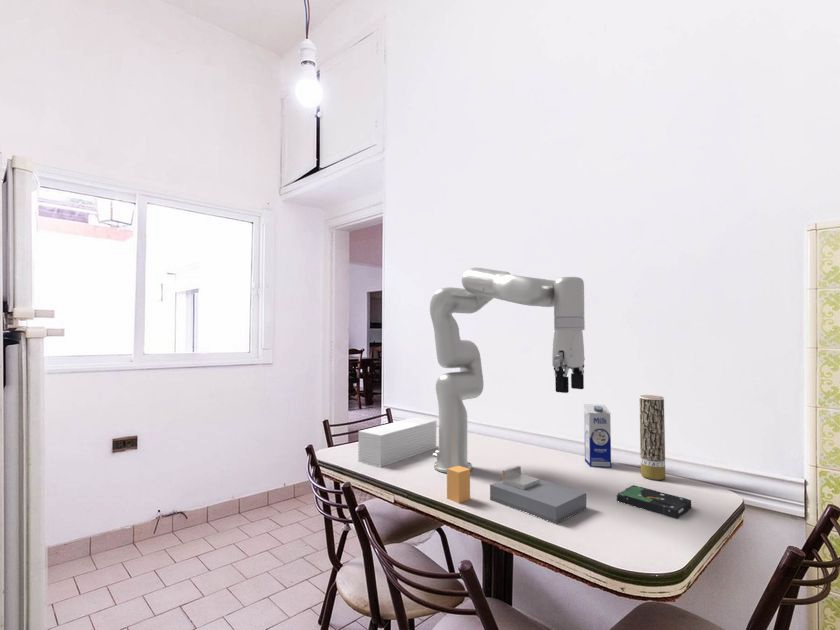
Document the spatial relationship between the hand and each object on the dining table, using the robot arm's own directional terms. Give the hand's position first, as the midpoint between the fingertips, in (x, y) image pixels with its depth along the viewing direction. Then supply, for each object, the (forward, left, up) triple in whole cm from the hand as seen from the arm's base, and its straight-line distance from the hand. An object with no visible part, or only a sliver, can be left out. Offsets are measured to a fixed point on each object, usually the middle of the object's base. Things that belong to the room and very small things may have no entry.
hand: (570, 390), depth 114 cm
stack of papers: (-68, -3, -31) cm, 75 cm away
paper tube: (+4, +41, -30) cm, 51 cm away
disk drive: (+13, +18, -31) cm, 38 cm away
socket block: (-7, -5, -30) cm, 31 cm away
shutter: (-12, -5, -26) cm, 29 cm away
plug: (-23, -18, -30) cm, 42 cm away
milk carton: (-14, +41, -30) cm, 53 cm away
